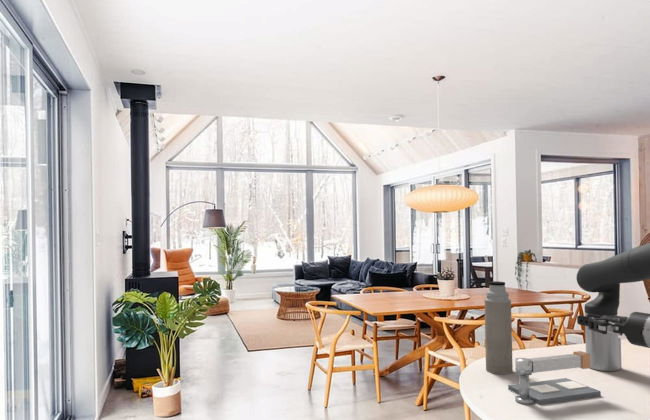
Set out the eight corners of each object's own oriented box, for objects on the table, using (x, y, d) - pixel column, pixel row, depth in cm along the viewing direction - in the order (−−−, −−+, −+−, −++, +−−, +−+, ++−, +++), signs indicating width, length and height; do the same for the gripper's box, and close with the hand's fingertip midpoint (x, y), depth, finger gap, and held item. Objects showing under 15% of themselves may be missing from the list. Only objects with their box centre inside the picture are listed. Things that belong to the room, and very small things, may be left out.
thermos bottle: (510, 367, 156) (508, 280, 157) (514, 374, 148) (512, 283, 149) (484, 366, 157) (482, 280, 158) (487, 373, 150) (485, 282, 151)
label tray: (566, 382, 141) (566, 376, 141) (600, 395, 129) (600, 390, 129) (508, 389, 135) (508, 384, 135) (539, 404, 123) (538, 398, 123)
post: (525, 397, 128) (525, 371, 129) (537, 403, 124) (536, 376, 124) (511, 399, 127) (511, 373, 127) (523, 405, 123) (522, 378, 123)
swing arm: (522, 376, 123) (522, 361, 123) (512, 372, 127) (511, 357, 127) (591, 368, 130) (591, 354, 130) (579, 364, 134) (579, 350, 134)
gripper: (672, 311, 110) (599, 301, 125) (635, 317, 104) (563, 306, 119) (673, 345, 110) (600, 330, 125) (636, 352, 103) (564, 337, 119)
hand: (583, 319), depth 122 cm, fingers open, 3 cm apart
